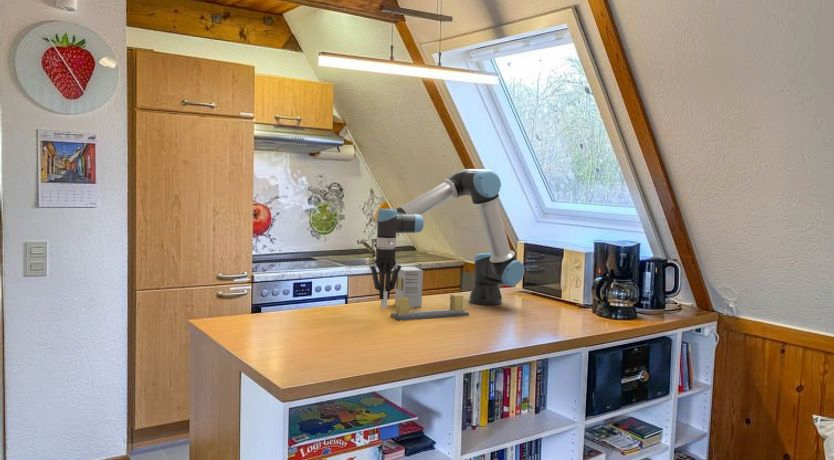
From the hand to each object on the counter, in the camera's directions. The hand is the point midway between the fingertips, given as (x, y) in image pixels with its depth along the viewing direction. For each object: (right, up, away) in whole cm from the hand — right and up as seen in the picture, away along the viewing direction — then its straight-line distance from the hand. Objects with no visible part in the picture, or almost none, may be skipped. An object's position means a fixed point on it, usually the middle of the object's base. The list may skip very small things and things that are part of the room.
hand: (383, 307), depth 251 cm
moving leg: (+6, -4, +5) cm, 9 cm away
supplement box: (+9, -3, +29) cm, 31 cm away
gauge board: (+19, -5, +11) cm, 22 cm away
